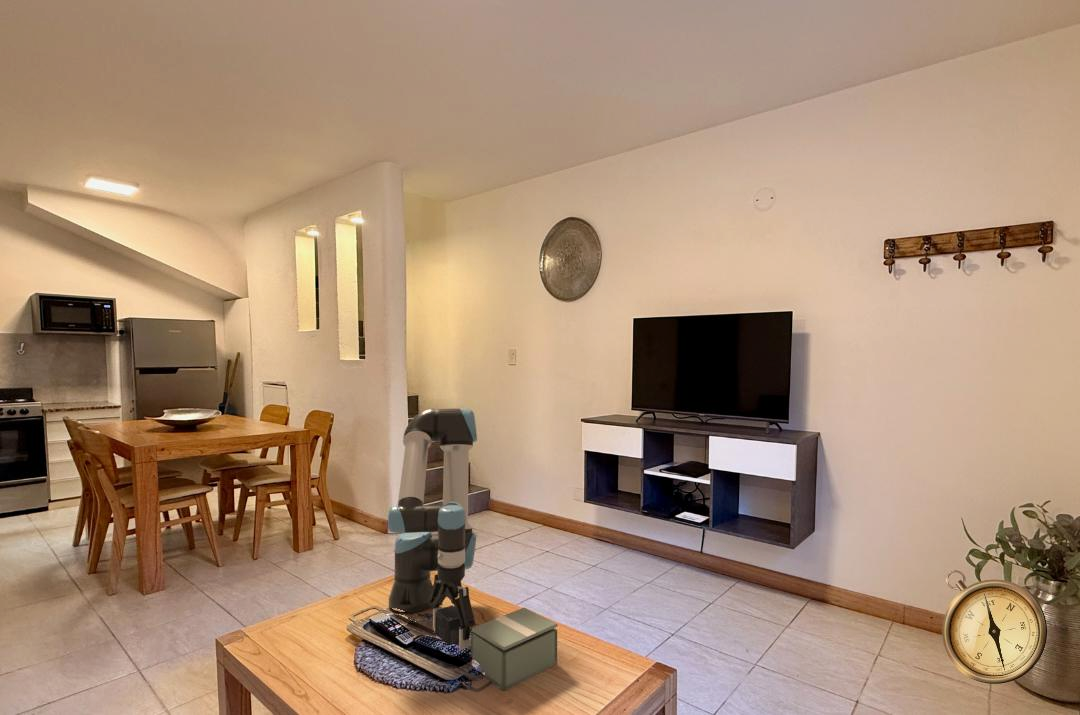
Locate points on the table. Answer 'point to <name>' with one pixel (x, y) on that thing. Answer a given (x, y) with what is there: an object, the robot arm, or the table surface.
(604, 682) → the table surface
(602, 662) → the table surface
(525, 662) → the carton
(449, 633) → the box
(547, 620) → the lid
